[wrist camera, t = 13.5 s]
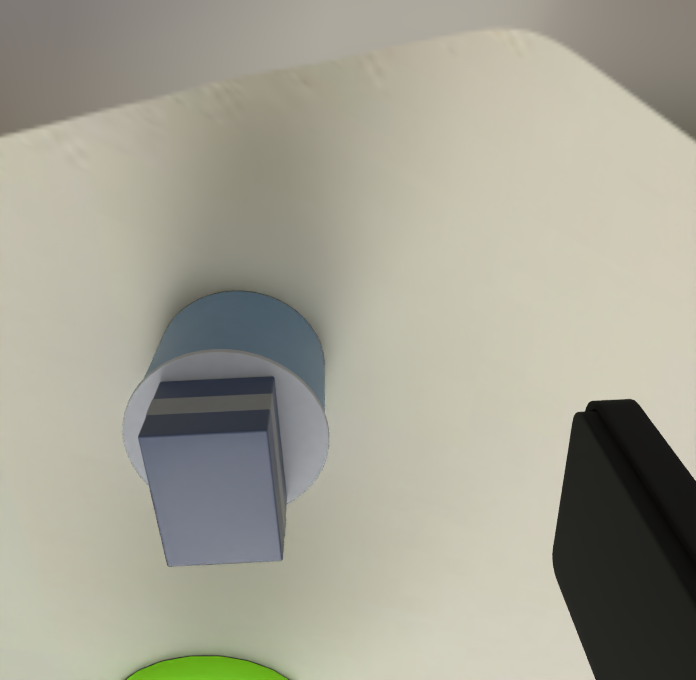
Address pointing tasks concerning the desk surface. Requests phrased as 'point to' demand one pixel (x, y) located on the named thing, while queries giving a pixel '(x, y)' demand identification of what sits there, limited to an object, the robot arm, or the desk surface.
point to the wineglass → (206, 670)
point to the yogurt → (245, 372)
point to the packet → (216, 470)
